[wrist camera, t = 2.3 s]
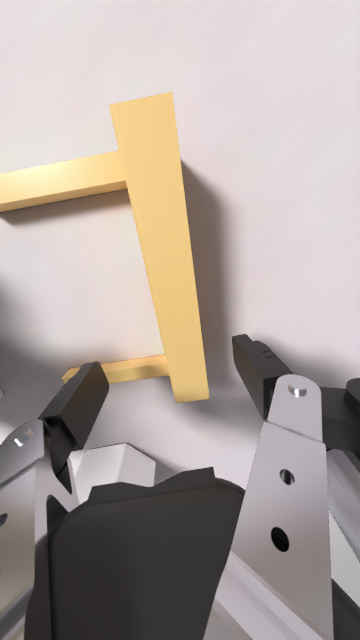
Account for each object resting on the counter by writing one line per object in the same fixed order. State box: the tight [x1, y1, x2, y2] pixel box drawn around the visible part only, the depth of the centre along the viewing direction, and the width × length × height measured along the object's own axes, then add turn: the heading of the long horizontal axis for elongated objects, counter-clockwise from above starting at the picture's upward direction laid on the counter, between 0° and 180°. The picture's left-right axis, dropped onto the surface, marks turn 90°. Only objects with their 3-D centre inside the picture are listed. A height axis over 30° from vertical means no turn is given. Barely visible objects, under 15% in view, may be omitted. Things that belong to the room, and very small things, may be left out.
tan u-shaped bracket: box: [0, 92, 209, 403], centre depth 11 cm, size 11×14×4 cm
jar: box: [74, 443, 156, 504], centre depth 15 cm, size 9×8×12 cm
